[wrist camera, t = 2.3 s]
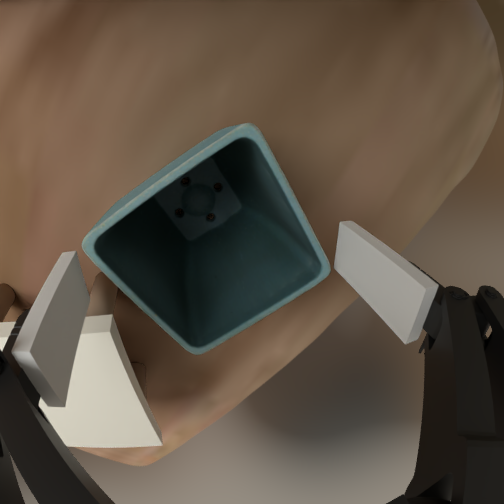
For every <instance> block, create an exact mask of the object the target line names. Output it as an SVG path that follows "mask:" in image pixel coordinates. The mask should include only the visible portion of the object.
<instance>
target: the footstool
mask: <svg viewBox="0 0 504 504" xmlns="http://www.w3.org/2000/svg"><path fill="white" fill-rule="evenodd" d="M117 291H118V287H117V286H116V285H115V284H114V283H113V282H112V281H111V280H110V279H109V278H108V277H107V276H106V275H105V274H104V273H103V272H101V273H99V274H98V275H97V276H96V278H95V281H94V284H93V287H92V291H91V294H90V303H89V307H88V310H87V313H86V317H85V320H84V324H83V328H82V331H81V335H80V339H79V343H78V347H77V351H76V356H75V360H74V364H73V369H72V374H71V379H70V384H69V389H68V394H67V400H66V406H65V407H48V406H47V405H46V403H45V402H44V401H43V399H42V398H41V397H40V401H39V407H40V408H41V409H42V410H43V412H44V414H45V415H46V417H47V418H48V420H49V422H50V423H51V425H52V426H53V428H54V429H55V431H56V432H57V434H58V435H59V436H60V438H61V439H62V441H63V442H64V444H65V445H66V446H73V447H102V448H115V447H145V446H159V445H163V443H162V434H161V430H160V428H159V426H158V424H157V422H156V420H155V418H154V416H153V414H152V412H151V410H150V407H149V405H148V403H147V397H146V368H145V367H144V366H143V365H142V364H140V363H130V361H129V359H128V356H127V353H126V351H125V348H124V345H123V343H122V340H121V337H120V334H119V332H118V329H117V326H116V323H115V320H114V317H113V313H114V308H115V302H116V296H117ZM14 300H15V293H14V291H13V289H12V288H11V287H10V286H9V285H7V284H0V349H1V351H2V350H3V348H4V346H5V344H6V342H7V339H8V337H9V335H11V334H10V333H11V331H12V329H13V328H14V325H15V323H16V322H3V320H4V318H5V316H6V314H7V312H8V310H9V309H10V307H11V305H12V303H13V301H14Z"/></svg>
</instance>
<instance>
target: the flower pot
mask: <svg viewBox="0 0 504 504" xmlns="http://www.w3.org/2000/svg"><path fill="white" fill-rule="evenodd" d="M185 177H187V178H188V179H189V183H188V184H186V185H184V184H182V179H183V178H185ZM216 183H220V184H221V185H222V186H221V189H219V190H216V189H214V185H215V184H216ZM177 209H182V211H183V213H182V215H177V214H176V210H177ZM210 213H213V214H214V218H213V219H208V218H207V215H208V214H210ZM82 248H83V251H84V252H85V254H86V255H87V256H88V257H89V258H90V259H91V260H92V261H93V263H94V264H95V265H96V266H97V267H98V268H100V269H101V271H102V272H103V273H104V274H105V275H106V276H107V277H108V278H109V279H110V280H111V281H112V282H113V283H114V284H115V285H116V286H117V287H119V288H120V289H121V291H123V292H124V294H126V295H127V296H128V297H129V298H130V299H131V300H132V301H133V302H134V303H135V304H136V305H138V307H139V308H140V309H141V310H143V311H144V312H145V313H146V314H147V315H148V316H149V317H150V318H151V319H152V320H154V321H155V322H156V323H157V324H158V325H159V326H160V327H161V328H162V329H163V330H164V331H166V333H168V334H169V335H170V336H171V337H172V338H173V339H174V340H176V341H177V342H178V343H179V344H180V345H181V346H182V347H183V348H184V349H185V350H187V351H188V352H190V353H192V354H195V355H201V354H203V353H205V352H207V351H209V350H211V349H213V348H214V347H216V346H218V345H220V344H221V343H223V342H224V341H226V340H228V339H230V338H231V337H233V336H234V335H236V334H238V333H240V332H241V331H243V330H245V329H247V328H248V327H250V326H251V325H253V324H254V323H256V322H258V321H259V320H261V319H263V318H264V317H266V316H268V315H270V314H271V313H273V312H274V311H276V310H277V309H279V308H280V307H282V306H284V305H286V304H287V303H289V302H291V301H292V300H294V299H295V298H296V297H298V296H299V295H301V294H303V293H304V292H306V291H308V290H309V289H311V288H313V287H314V286H316V285H317V284H319V283H320V282H321V281H322V280H324V279H325V278H326V277H327V276H328V275H329V274H330V272H331V268H330V263H329V260H328V258H327V257H326V255H325V253H324V251H323V249H322V247H321V245H320V243H319V241H318V239H317V237H316V235H315V233H314V231H313V229H312V228H311V225H310V224H309V222H308V220H307V218H306V216H305V214H304V212H303V210H302V208H301V206H300V204H299V202H298V200H297V198H296V196H295V194H294V192H293V190H292V188H291V187H290V185H289V183H288V181H287V179H286V177H285V175H284V173H283V171H282V170H281V168H280V165H279V164H278V162H277V160H276V158H275V156H274V155H273V153H272V151H271V149H270V147H269V145H268V143H267V141H266V139H265V138H264V136H263V134H262V133H261V131H260V130H259V129H258V127H257V126H255V125H254V124H252V123H245V124H240V125H235V126H230V127H227V128H223V129H221V130H219V131H217V132H215V133H214V134H212V135H211V136H209V137H208V138H206V139H205V140H203V141H202V142H200V143H199V144H197V145H196V146H194V147H193V148H191V149H190V150H188V151H187V152H185V153H184V154H182V155H181V156H179V157H178V158H177V159H175V160H174V161H172V162H171V163H169V164H168V165H167V166H165V167H164V168H162V169H161V170H160V171H158V172H157V173H155V174H154V175H152V176H151V177H150V178H148V179H147V180H146V181H144V182H143V183H141V184H140V185H139V186H137V187H136V188H135V189H133V190H132V191H131V192H129V193H128V194H127V195H125V196H124V197H122V198H121V199H120V200H119V201H117V202H116V203H115V204H114V205H113V206H112V207H111V208H110V209H109V210H108V211H107V212H106V213H105V214H104V216H103V217H102V218H101V219H100V220H99V221H98V222H97V223H96V225H95V226H94V227H93V228H92V229H91V230H90V231H89V233H88V234H87V235H86V236H85V238H84V239H83V242H82Z"/></svg>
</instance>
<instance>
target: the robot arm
mask: <svg viewBox="0 0 504 504" xmlns="http://www.w3.org/2000/svg"><path fill="white" fill-rule="evenodd" d="M334 269H335V270H336V271H337V272H338V273H339V274H340V275H341V276H342V277H343V278H344V279H345V280H346V281H347V282H348V283H349V284H350V285H351V286H352V287H353V288H354V289H355V290H356V292H357V293H358V294H359V295H360V296H361V297H362V298H363V299H364V300H365V301H366V302H367V303H368V304H369V305H370V306H371V307H372V309H373V310H374V311H375V312H376V313H377V314H378V315H379V316H380V317H381V318H382V319H383V320H384V322H385V323H386V324H387V325H388V326H389V327H390V328H391V329H392V330H393V331H394V333H395V334H397V336H398V337H399V338H400V339H401V340H402V341H403V343H405V344H408V343H410V342H413V341H415V340H417V339H418V338H419V335H420V333H421V331H422V328H423V329H424V330H425V331H426V332H427V334H426V336H425V339H424V341H423V343H422V345H421V348H420V350H419V353H421V352H422V350H423V349H424V348H425V353H424V354H425V373H424V374H425V376H424V377H425V378H424V399H423V412H422V424H421V434H420V441H419V449H418V456H417V462H416V468H415V473H414V476H413V479H412V480H411V482H410V484H409V486H408V487H407V490H406V492H405V495H401V496H399V497H397V498H396V499H394V500H392V501H390V502H388V503H387V504H504V298H503V296H502V295H501V294H500V293H499V292H498V291H497V290H496V289H495V288H493V287H491V286H481V287H480V288H479V290H478V293H477V295H476V296H469V294H468V293H467V292H466V291H464V290H462V289H461V288H458V287H454V286H449V287H446V288H444V287H443V286H442V285H440V284H439V283H438V282H437V281H436V280H434V279H433V278H432V277H430V276H429V275H428V274H426V273H425V272H424V271H423V270H420V268H419V267H417V266H416V265H415V264H413V263H412V262H410V261H408V260H406V259H404V258H403V257H402V256H400V255H399V254H398V253H397V252H395V251H394V250H392V249H391V248H390V247H388V246H387V245H386V244H384V243H383V242H381V241H380V240H379V239H377V238H376V237H374V236H373V235H372V234H370V233H369V232H367V231H366V230H365V229H363V228H362V227H360V226H359V225H357V224H356V223H354V222H353V221H342V222H340V224H339V232H338V240H337V247H336V255H335V262H334ZM89 303H90V297H89V293H88V290H87V287H86V284H85V281H84V277H83V274H82V270H81V267H80V263H79V259H78V256H77V252H76V251H71V252H64V253H62V254H61V256H60V257H59V259H58V261H57V262H56V264H55V266H54V267H53V269H52V271H51V273H50V274H49V276H48V278H47V280H46V281H45V283H44V285H43V287H42V289H41V290H40V292H39V294H38V296H37V298H36V300H35V302H34V304H33V306H32V308H31V309H28V310H25V311H24V312H23V313H22V314H21V315H20V316H19V317H18V319H17V321H16V323H15V325H14V328H13V329H12V331H11V333H10V334H11V335H9V337H8V339H7V342H6V344H5V346H4V348H3V350H2V351H1V349H0V504H25V502H24V500H23V497H22V494H21V491H20V488H19V485H18V482H17V479H16V476H15V472H14V469H13V465H12V461H11V457H10V454H11V456H12V458H13V460H14V462H15V464H16V466H17V468H18V470H19V471H20V473H21V475H22V477H23V478H24V480H25V482H26V484H27V485H28V487H29V489H30V490H31V492H32V493H33V495H34V497H35V498H36V500H37V501H38V503H39V504H115V503H114V502H113V501H112V500H111V499H110V498H109V497H108V496H107V495H106V494H105V493H104V491H103V490H102V489H101V488H100V487H99V486H98V485H97V484H96V483H95V481H94V480H93V479H92V478H91V477H90V476H89V474H88V473H87V472H86V471H85V470H84V468H83V467H82V466H81V465H80V463H79V462H78V461H77V460H76V458H75V457H74V456H73V454H72V453H71V452H70V451H69V449H68V448H67V446H66V445H65V444H64V442H63V441H62V439H61V438H60V436H59V435H58V434H57V432H56V431H55V429H54V428H53V426H52V425H51V423H50V422H49V420H48V418H47V417H46V415H45V414H44V412H43V410H42V409H41V408H40V407H39V401H40V397H41V398H42V399H43V401H44V402H45V403H46V405H47V406H48V407H65V406H66V400H67V394H68V389H69V384H70V379H71V374H72V369H73V364H74V360H75V356H76V351H77V347H78V343H79V339H80V335H81V331H82V328H83V324H84V320H85V317H86V313H87V310H88V307H89ZM489 326H491V328H492V332H491V334H490V336H489V337H488V338H487V337H486V335H485V334H486V332H487V330H488V328H489ZM9 452H10V453H9ZM450 500H451V501H450Z"/></svg>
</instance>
